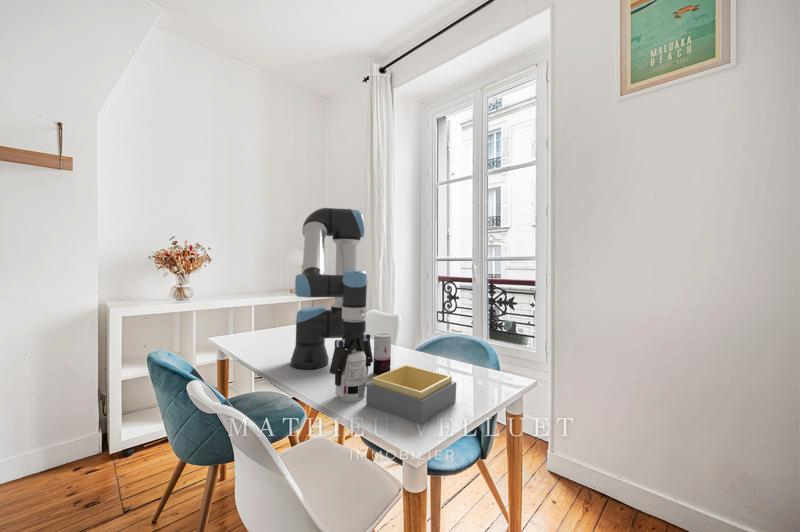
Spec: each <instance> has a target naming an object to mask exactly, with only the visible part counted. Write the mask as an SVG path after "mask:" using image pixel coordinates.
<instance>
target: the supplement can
mask: <svg viewBox="0 0 800 532" xmlns="http://www.w3.org/2000/svg"><path fill="white" fill-rule="evenodd" d="M346 350H347V349H346ZM365 366H366V355H365V353H364V351H358V350H356V349H355V350H353V351H352V353H351V354H350V355H349V354H348V358H347V363H346V366H345V368H344V371H343V373H342V374H344V396H343V397H341V396H338V395H337V397H338V399H339V400H340V401H342V402H347V403H354V402H360V401H362V400H364V399H365V397H366V392H365V391H366V387H365ZM339 371H340V370H339Z"/></svg>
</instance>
